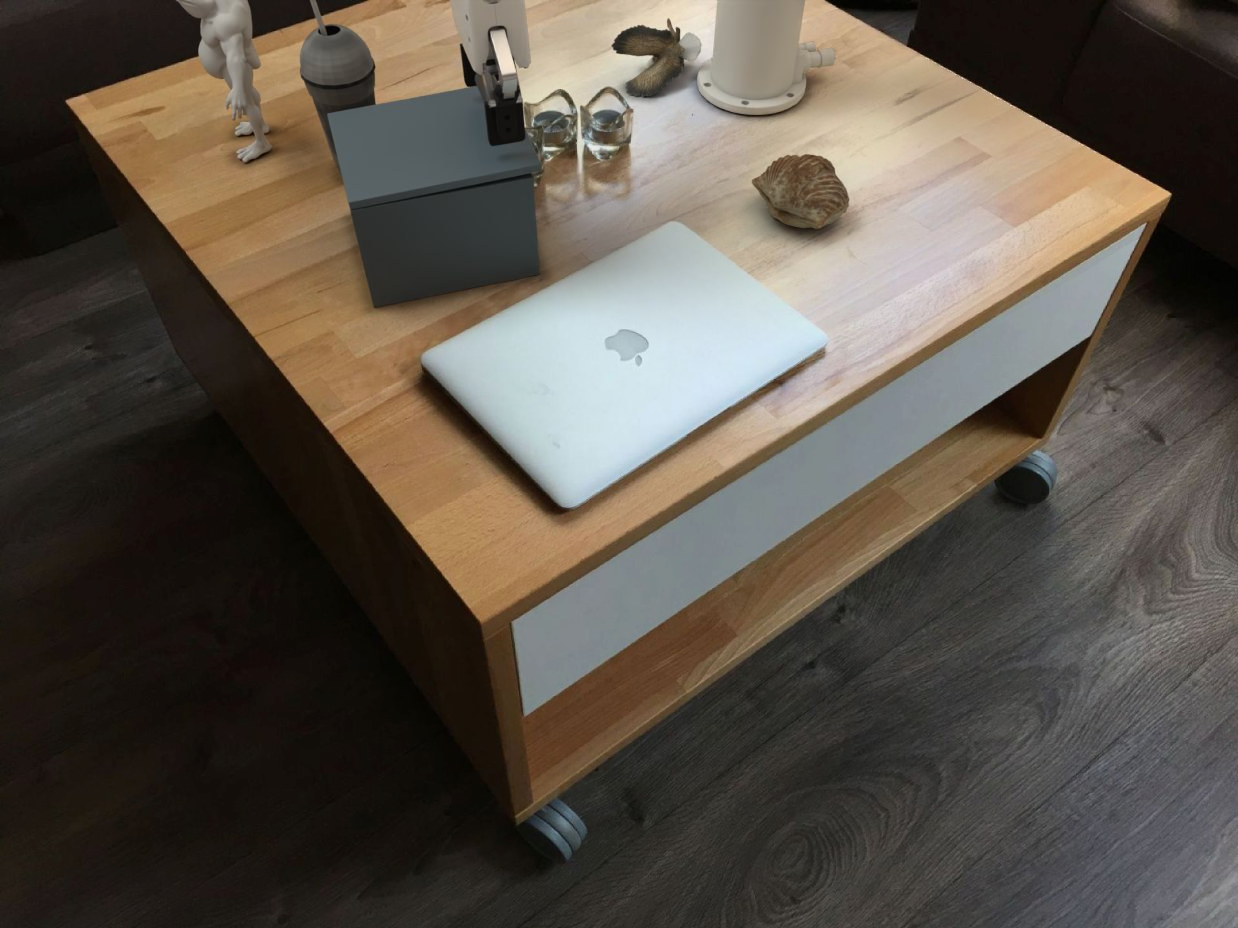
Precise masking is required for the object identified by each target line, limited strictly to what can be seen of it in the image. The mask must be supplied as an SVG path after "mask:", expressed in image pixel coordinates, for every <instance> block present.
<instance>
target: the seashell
mask: <svg viewBox="0 0 1238 928" xmlns="http://www.w3.org/2000/svg"><path fill="white" fill-rule="evenodd" d="M751 184H752V185H753V187H754V188H755V189H756V190H757V192H758V193H759V195H760V196H761V197H762V199H763V201H764V203H765V206H766V208H767V211H768V213H769V214H770V216H771V217H772V218H773V219H777V220H779V222H781V223H783V224H785V225H788V226H791V227H795V228H801V229H807V228H808V229H809V228H813V229H815V230H821V229H822V228H823V227H825V226H827V225H831V224H832V223H834V222H835V221H837V220H839V219H841V217H842V216H843V215H844V214H845V213H846V212H847V210H848V208H849V206H850V204H849V202H850V197H849V192H848V189H847V188H846V186H845V184H844V182H843V181H842V180H841V179H840V177H839V176H838V175H837V174H836V168H835V167H834V164H833V163H832V161H830V160H829V159H828V158H825V157H824V156H822V155H815V154H809V153H805V154H802V155H801V156H799V155H798V154H792V155H791V154H786V155H784V156H781V157H778V159H777V160H773V161H772V163H771V164H770V165H768V166H767V167H766V169H765V171H764V172H762V173H761V174H760V175H759V176H756V177H754V178H753V179H752V180H751Z"/></svg>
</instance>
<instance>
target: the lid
mask: <svg viewBox="0 0 1238 928" xmlns="http://www.w3.org/2000/svg"><path fill="white" fill-rule="evenodd" d="M491 80H492V85H493V89H495V86H496V85H498V84H500V83H499V81H498V82H497V80H496V78H495V75H491ZM475 82H476V84H477V86H473V87H463V88H458V89H452V90H447V91H442V92H437V93H436V92H435V93H430V94H425V95H420V96H415V97H410V98H404V99H398V100H393V101H387V102H381V103H376V105H371V106H365V107H360V108H354V109H349V110H344V111H338V112H333V113H328V114H327V116H328V120H329V124H330V128H331V132H332V137H333V141H334V145H335V149H336V153H337V157H338V162H339V166H340V170H341V174H342V177H341V178H342V182H343V187H344V191H345V195H346V199H347V203H348V207H349V210H350V209H356V208H361V207H366V206H371V205H376V204H381V203H386V202H391V201H396V200H401V199H406V198H411V197H416V196H421V195H426V194H431V193H435V192H440V191H445V190H450V189H455V188H460V187H465V186H470V185H475V184H480V183H485V182H490V181H495V180H500V179H505V178H510V177H515V176H519V175H524V174H529V173H531V174H533V173H539V172H542V171H543V168H542V162H541V160H540V159H539V156H538V154H537V152H536V149H535V147H534V145H533V143H532V140H531V138H530V136H529V133H528V132H527V129H526V128H525V139H524V140H523V141H521V142H515V143H509V144H503V145H498V146H491V145H490V144H489V141H488V135H487V126H486V116H485V107H484V102H486V101H487V96H486V91H485V86H484V81H483V77H482V75H480V74H478V73H476V75H475Z"/></svg>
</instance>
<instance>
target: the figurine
mask: <svg viewBox="0 0 1238 928" xmlns="http://www.w3.org/2000/svg"><path fill="white" fill-rule="evenodd" d="M175 1H176V2H177V3H178V4H180V6H181V7H182V8H183V9H184V10H185V11H186V12H187V13H188V14H189V15H191V16H192V17H194V18H196V19H201V20H200V26H199V27H200V36H201V39H200V41H199V45H198V58H199V62H200V64H201V65H202V68H203V69H204V71H205V72H206V73H207V74H208V75H209V76H211V77H213V78H215V79H218V80H224V82H225V83H226V85H227V86H228V88H229V89H230V92H229V93H228V95H227V96H226V100H225V103H224V106H225V110H227V111H228V110H229V109H230V105H231V109H232V110H231V112H232V115H231V116H232V117H231V120H232V121H236V120H237V119H239V120H241V119H242V118H243V116H246V118H247V119H248V121H241V122H239V125H237V126H235V131H234V135H235V136H237V137H239V136H241V135H244V136H248V135H249V136H250V135H251V134H252V133H253V134H254V138H255V140H254V141H253V142H251V144H249V145H248V146H245V147H242V148H239V149H238V150H236V151H235V153H236V155H237V159H238V160H242V162H243V163H248V162H249V161H250V160H255V159H257V158H259V157H260V156H261V155H262V154H265V153H267V152H270V150H272V144H271V143H270V142H268V140H267V138H266V136H265V134H267V133H269V132H270V126H269V124H267V123H266V121H265V119H264V117H263V112H262V104H261V102H262V97H261V93H260V92H259V90H257V88H256V87H255V86H254V85H253V84H254V70H258V69H260V68H261V66H262V63H261V59H260V57H259V54H258V52H257V50H256V48H255V46H254V45H255V44H254V42H253V20H252V19H253V18H252V11H251V7H250V4H249V1H248V0H175ZM236 117H237V119H236Z"/></svg>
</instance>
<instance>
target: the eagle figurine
mask: <svg viewBox="0 0 1238 928" xmlns="http://www.w3.org/2000/svg"><path fill="white" fill-rule="evenodd" d="M672 24H673V23H672V21H671V19H670V18H669V17H668V18H667V19H666V27H667V28H668V29H667V28H665V29H662V30H661V29H657V28H656V27H654V28H653V27H652V28H651V27H649V26H646V25H644V24H641V25H640V24H637V25H633V26H631V27H629V28H626V29H625V30H621V31H620V33H619V34H617V36H616V37H615V38H614V40H613V41H614V42H613V43H612V44H611V45H610V47H612V51H614V52H615V54H617V55H626V56H635V57H645V56H646V57H647V56H649V57H650V56H651V58H650V59H648V61H647V62H646V63H645V68H644V70H643V71H641V72H640V73H639V74H637V75H636V76H634V77H633V78H631V79H629V80H627V81H626V82H625V93H627V94H628V95H629V96H634V97H640V96H641V97H643V98H644V97H645V96H646V97H650V96H653V95H655V94H658V93H659V92H661V91H662V88H664V87H666V86H667V84H669V83H670V82H672V80H675V79H677V78H678V77H679V76H680V74H681V72H682V69H685V66H686V64H685V61H687V62H689V63H693V62H695V61H696V60H697V59H698V58H699V56H700V53H701V51H702V42H701V39H700V38H699V37H698V36H697V35H696V34H695V33H692V32H686V33H685V34H684V35H683V36H682V38H681V28H680V27H678V26H675V29H674V27H673V25H672Z"/></svg>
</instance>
